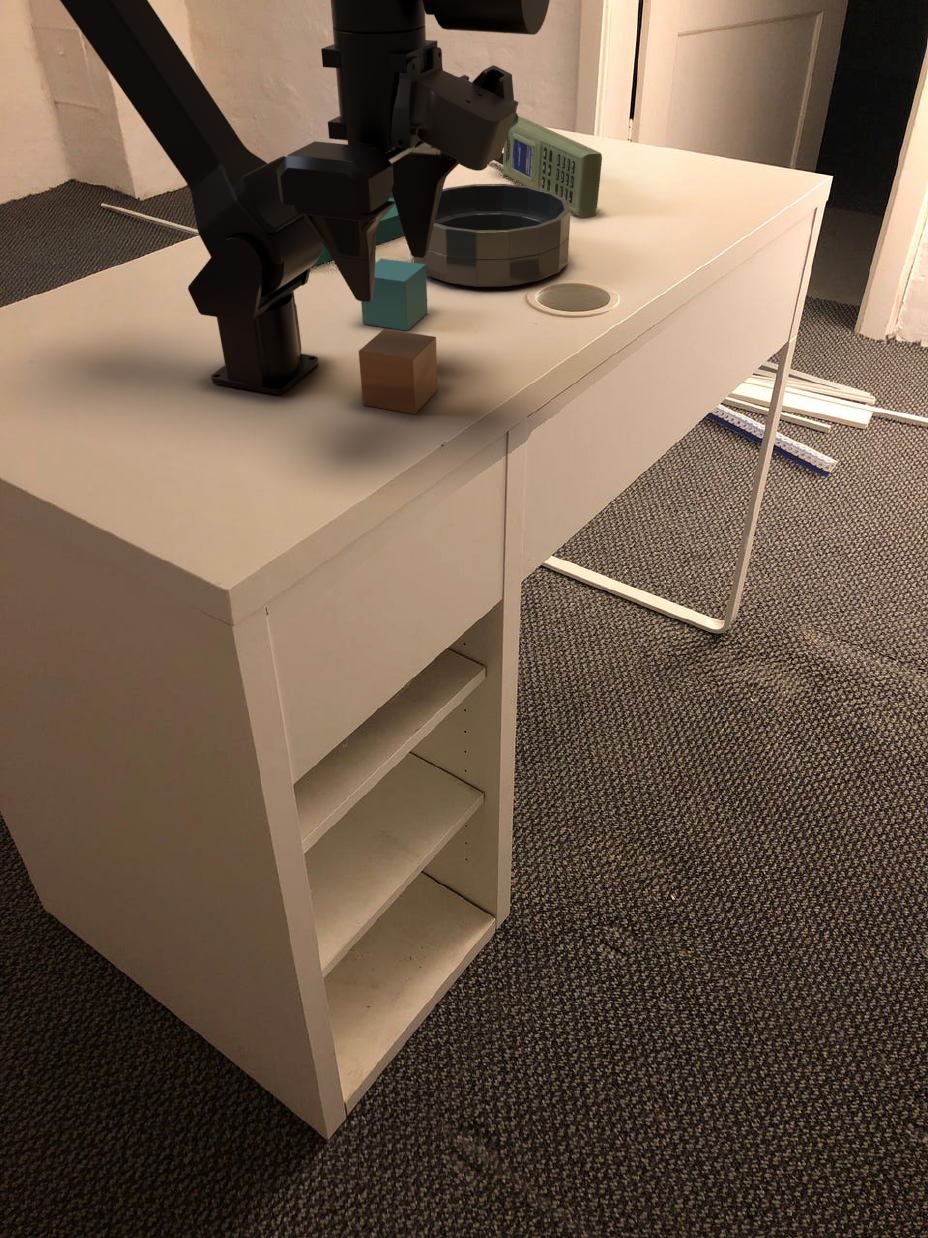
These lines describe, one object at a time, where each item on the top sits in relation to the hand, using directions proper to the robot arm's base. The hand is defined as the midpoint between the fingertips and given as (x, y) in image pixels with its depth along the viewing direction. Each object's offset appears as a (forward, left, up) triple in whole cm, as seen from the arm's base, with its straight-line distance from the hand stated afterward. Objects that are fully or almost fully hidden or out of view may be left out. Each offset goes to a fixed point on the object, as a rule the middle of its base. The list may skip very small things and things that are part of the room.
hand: (392, 277), depth 71 cm
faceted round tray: (+30, +4, -9) cm, 32 cm away
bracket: (+31, +21, -10) cm, 38 cm away
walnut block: (0, 0, -9) cm, 9 cm away
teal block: (+14, +7, -9) cm, 18 cm away
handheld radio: (+56, +8, -10) cm, 57 cm away
